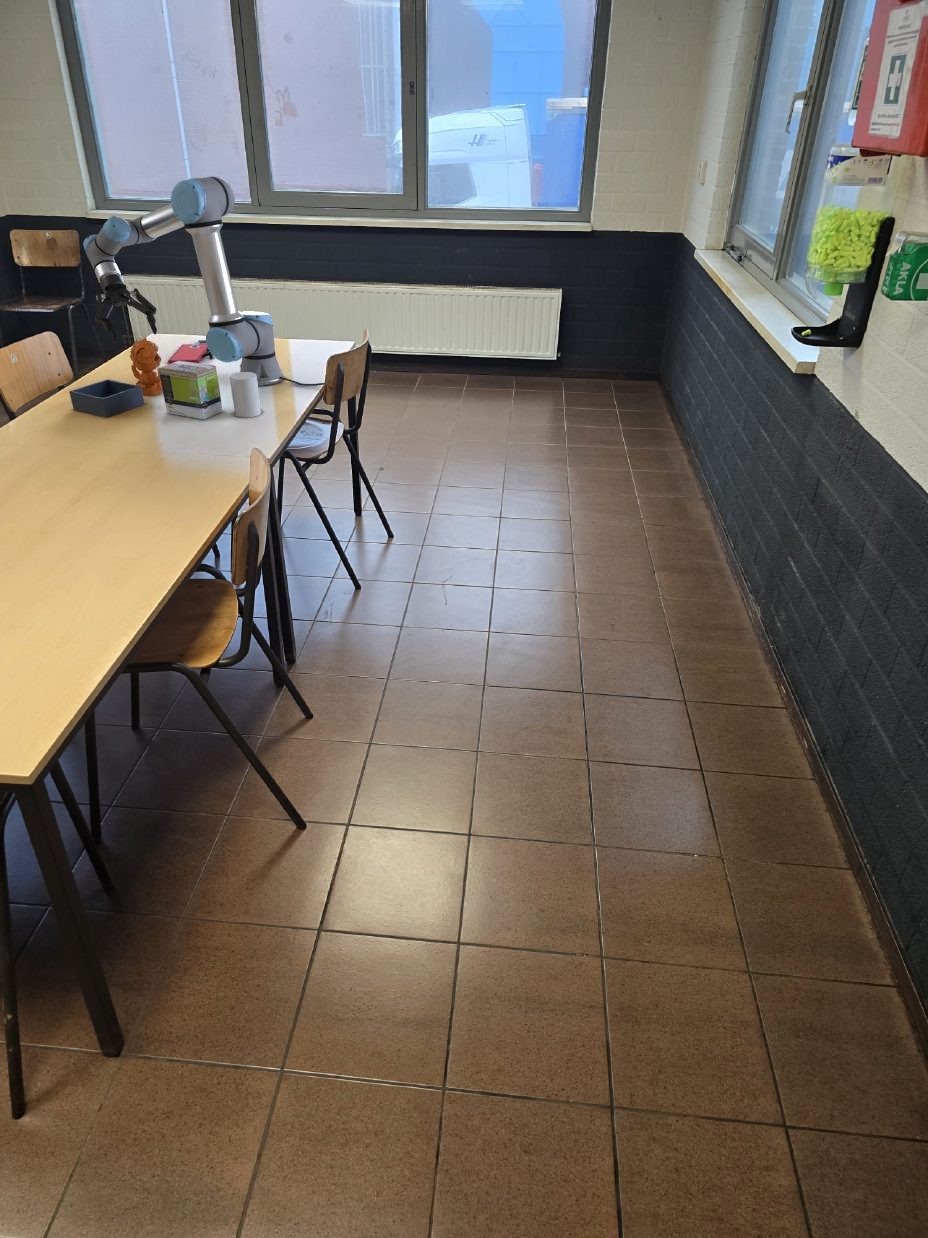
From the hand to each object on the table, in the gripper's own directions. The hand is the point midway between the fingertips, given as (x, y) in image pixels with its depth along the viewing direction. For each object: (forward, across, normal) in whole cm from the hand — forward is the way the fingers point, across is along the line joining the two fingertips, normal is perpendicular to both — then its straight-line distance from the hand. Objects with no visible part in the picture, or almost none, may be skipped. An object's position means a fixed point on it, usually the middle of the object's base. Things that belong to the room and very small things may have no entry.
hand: (135, 334), depth 279 cm
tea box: (+37, -3, +12) cm, 39 cm away
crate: (+22, +17, -3) cm, 28 cm away
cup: (+45, -16, +20) cm, 52 cm away
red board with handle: (-10, -32, -35) cm, 49 cm away
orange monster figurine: (+18, 0, -8) cm, 19 cm away
